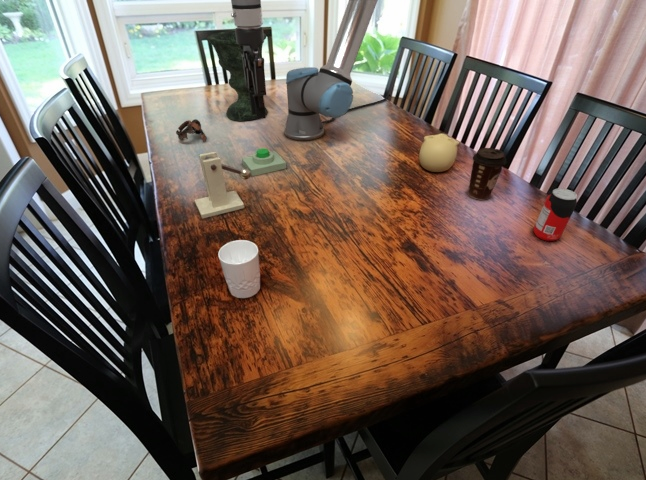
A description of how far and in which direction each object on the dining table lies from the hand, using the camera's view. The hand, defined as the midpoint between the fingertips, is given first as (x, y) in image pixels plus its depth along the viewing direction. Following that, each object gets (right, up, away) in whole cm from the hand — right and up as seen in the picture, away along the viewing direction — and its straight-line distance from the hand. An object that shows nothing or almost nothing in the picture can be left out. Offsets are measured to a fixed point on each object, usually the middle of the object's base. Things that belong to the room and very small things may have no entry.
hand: (258, 115), depth 117 cm
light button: (0, -10, +8) cm, 13 cm away
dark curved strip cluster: (-29, +2, +29) cm, 41 cm away
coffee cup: (+66, -25, -5) cm, 71 cm away
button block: (0, -13, +11) cm, 17 cm away
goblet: (-13, +20, +50) cm, 56 cm away
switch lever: (-7, -21, -13) cm, 25 cm away
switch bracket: (-10, -29, -8) cm, 32 cm away
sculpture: (+57, -14, +9) cm, 59 cm away
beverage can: (+76, -39, -20) cm, 88 cm away
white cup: (+3, -51, -34) cm, 61 cm away
